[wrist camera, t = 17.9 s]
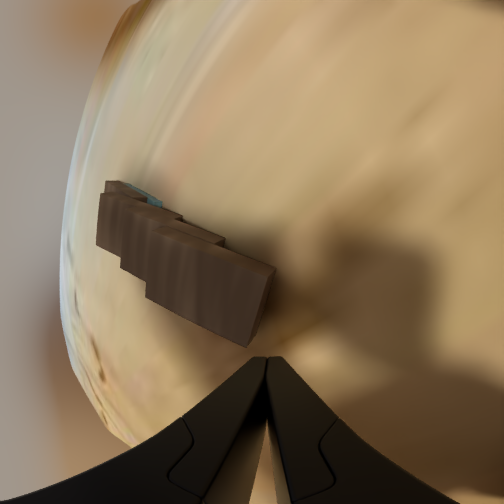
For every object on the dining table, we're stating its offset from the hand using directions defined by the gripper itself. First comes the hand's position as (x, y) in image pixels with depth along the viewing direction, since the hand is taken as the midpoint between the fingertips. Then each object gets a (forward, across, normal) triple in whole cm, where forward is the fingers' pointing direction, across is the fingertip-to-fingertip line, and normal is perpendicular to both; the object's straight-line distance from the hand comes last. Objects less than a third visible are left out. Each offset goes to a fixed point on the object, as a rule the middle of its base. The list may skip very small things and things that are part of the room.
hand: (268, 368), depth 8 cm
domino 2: (+11, -4, -2) cm, 12 cm away
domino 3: (+15, -8, -1) cm, 17 cm away
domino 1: (+9, -1, -3) cm, 9 cm away
